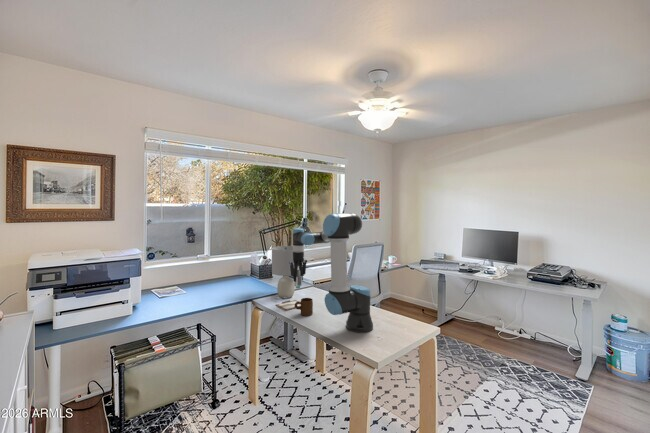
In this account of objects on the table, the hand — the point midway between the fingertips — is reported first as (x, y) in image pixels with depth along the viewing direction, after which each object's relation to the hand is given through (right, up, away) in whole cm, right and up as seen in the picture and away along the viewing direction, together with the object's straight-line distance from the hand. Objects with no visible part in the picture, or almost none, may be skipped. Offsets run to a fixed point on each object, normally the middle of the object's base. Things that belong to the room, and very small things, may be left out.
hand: (298, 285), depth 212 cm
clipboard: (-5, -14, 0) cm, 15 cm away
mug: (+5, -15, -16) cm, 22 cm away
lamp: (-11, -13, +20) cm, 26 cm away
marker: (0, -2, 0) cm, 2 cm away
